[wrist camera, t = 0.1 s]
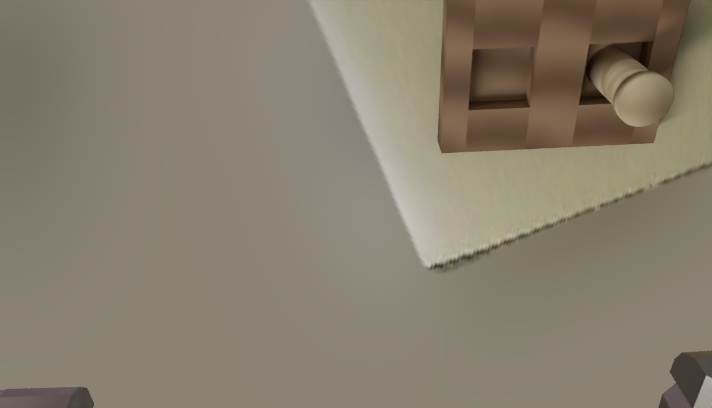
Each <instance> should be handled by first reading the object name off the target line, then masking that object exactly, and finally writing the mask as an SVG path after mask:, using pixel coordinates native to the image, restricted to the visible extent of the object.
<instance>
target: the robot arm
mask: <svg viewBox="0 0 712 408" xmlns="http://www.w3.org/2000/svg"><path fill="white" fill-rule="evenodd" d="M670 373H671V375H672V376H673V378H674V380H675V381H676V384H674V385H673V386H672V387H670V388H669V389H668V390H667V391H666V392H664V393H663V394H662V397H661V401H660V404H659V408H712V351H699V352H684V353H681V354H680V355H679V356H677V357H676V358H675V359H674V362H673V365H672V368H671V370H670ZM93 407H94V402H93V400H92V398H91V396H90V393H89V391H88V389H87V388H84V387H60V388H58V387H57V388H24V389H6V390H0V408H93Z"/></svg>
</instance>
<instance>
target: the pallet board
mask: <svg viewBox="0 0 712 408" xmlns="http://www.w3.org/2000/svg"><path fill="white" fill-rule="evenodd" d="M689 1H690V0H444V9H443V32H442V55H441V77H440V100H439V123H438V143H439V146H440V149H441V152H442V153H455V152H475V151H496V150H517V149H538V148H559V147H580V146H601V145H622V144H643V143H654V140H655V136H656V132H657V128H658V124H659V120H660V119H661V118H662V117H663V116H664V115H665V114H666V113H667V111H668V110H669V109H670V107H671V105H672V102H673V98H674V90H673V87H672V85H671V83H670V82H669V80H670V76H671V72H672V68H673V64H674V60H675V56H676V52H677V48H678V45H679V41H680V37H681V33H682V29H683V25H684V21H685V17H686V13H687V9H688V5H689Z"/></svg>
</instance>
